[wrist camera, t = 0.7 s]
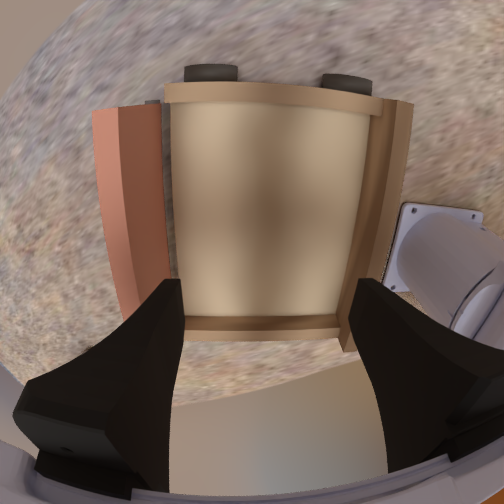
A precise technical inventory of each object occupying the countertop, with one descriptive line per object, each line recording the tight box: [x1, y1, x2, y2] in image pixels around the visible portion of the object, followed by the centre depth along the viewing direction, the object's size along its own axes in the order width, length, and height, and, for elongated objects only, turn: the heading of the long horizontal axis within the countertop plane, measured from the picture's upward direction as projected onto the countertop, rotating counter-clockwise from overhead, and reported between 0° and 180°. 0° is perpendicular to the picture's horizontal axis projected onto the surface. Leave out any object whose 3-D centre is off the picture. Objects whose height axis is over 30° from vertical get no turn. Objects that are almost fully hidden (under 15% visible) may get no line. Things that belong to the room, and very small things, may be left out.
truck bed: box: [164, 64, 414, 353], centre depth 18 cm, size 12×18×6 cm, turn 178°
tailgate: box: [92, 100, 171, 321], centre depth 15 cm, size 1×14×7 cm, turn 178°
